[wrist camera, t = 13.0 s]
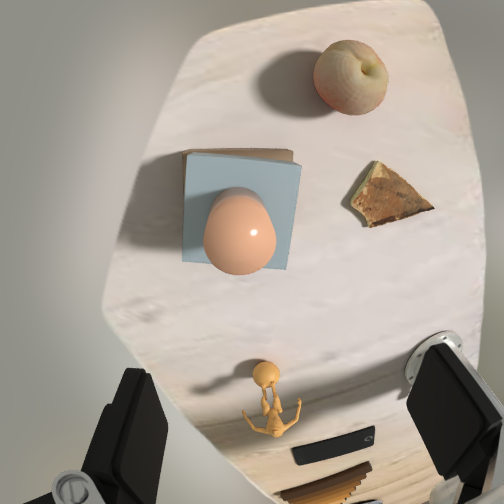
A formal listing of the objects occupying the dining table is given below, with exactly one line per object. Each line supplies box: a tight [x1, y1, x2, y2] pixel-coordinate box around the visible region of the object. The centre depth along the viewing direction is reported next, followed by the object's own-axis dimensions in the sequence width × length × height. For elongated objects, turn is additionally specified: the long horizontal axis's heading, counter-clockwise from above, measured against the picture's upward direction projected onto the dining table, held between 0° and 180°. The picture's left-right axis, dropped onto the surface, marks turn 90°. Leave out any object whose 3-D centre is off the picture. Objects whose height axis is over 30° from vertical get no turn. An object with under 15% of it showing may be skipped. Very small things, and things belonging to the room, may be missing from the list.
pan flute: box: [281, 461, 372, 504], centre depth 66 cm, size 25×3×25 cm
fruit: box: [313, 40, 389, 115], centre depth 27 cm, size 8×8×8 cm
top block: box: [182, 152, 302, 270], centre depth 30 cm, size 10×10×4 cm
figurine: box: [242, 362, 301, 437], centre depth 40 cm, size 8×6×12 cm
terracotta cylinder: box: [203, 187, 276, 275], centre depth 24 cm, size 5×5×7 cm
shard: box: [350, 161, 435, 228], centre depth 36 cm, size 11×8×2 cm
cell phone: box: [292, 426, 375, 465], centre depth 56 cm, size 9×18×1 cm, turn 104°
